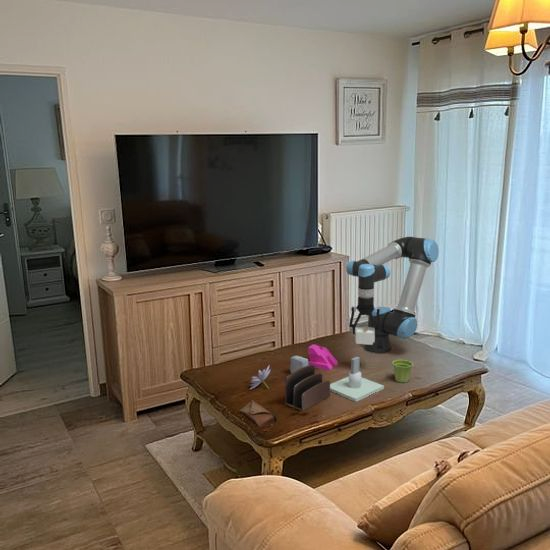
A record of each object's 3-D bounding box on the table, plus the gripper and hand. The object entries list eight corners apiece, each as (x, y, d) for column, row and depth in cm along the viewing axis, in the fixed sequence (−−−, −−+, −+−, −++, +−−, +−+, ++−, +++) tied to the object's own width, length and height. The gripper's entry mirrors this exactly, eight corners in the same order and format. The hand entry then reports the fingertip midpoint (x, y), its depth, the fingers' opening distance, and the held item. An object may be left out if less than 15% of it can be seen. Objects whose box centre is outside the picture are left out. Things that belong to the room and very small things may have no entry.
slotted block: (357, 338, 282) (357, 325, 281) (373, 339, 281) (373, 326, 279) (355, 343, 275) (356, 331, 273) (372, 344, 273) (372, 332, 271)
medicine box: (308, 375, 275) (308, 359, 273) (302, 378, 272) (302, 361, 270) (296, 371, 280) (296, 355, 278) (290, 374, 277) (290, 357, 275)
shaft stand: (353, 377, 273) (354, 347, 269) (383, 388, 260) (385, 358, 256) (325, 389, 260) (325, 358, 256) (355, 402, 247) (356, 369, 243)
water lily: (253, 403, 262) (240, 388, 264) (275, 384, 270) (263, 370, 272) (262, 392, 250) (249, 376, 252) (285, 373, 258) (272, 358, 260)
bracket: (308, 366, 287) (308, 347, 284) (316, 359, 295) (317, 341, 293) (330, 370, 281) (330, 351, 279) (338, 364, 290) (338, 345, 287)
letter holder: (284, 405, 245) (284, 374, 242) (313, 390, 259) (313, 361, 256) (302, 412, 238) (302, 381, 235) (330, 396, 252) (331, 367, 249)
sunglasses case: (236, 410, 239) (242, 396, 240) (248, 414, 243) (254, 400, 244) (259, 427, 225) (266, 412, 226) (272, 431, 229) (279, 416, 230)
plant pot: (398, 374, 276) (399, 358, 274) (415, 380, 269) (416, 363, 267) (387, 380, 269) (388, 363, 267) (404, 386, 263) (405, 368, 261)
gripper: (343, 297, 271) (342, 342, 276) (387, 299, 266) (386, 344, 272) (344, 293, 278) (344, 337, 283) (388, 295, 273) (386, 339, 279)
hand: (364, 340), depth 278 cm, fingers closed on slotted block, 8 cm apart
